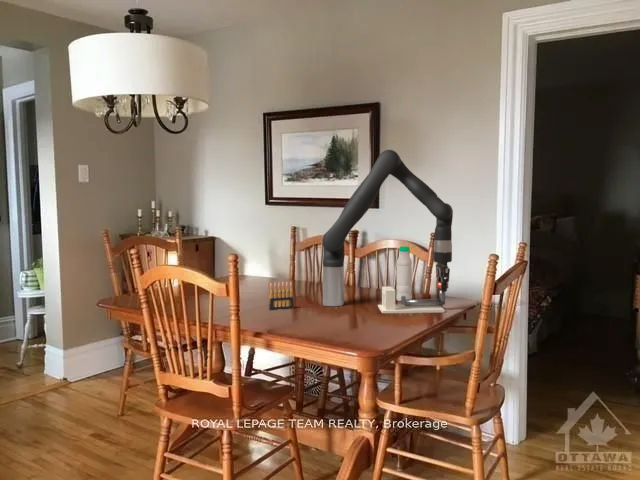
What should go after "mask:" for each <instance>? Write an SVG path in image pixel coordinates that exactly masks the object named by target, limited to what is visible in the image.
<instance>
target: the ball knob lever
mask: <svg viewBox="0 0 640 480" xmlns="http://www.w3.org/2000/svg"><path fill="white" fill-rule="evenodd" d="M441 283H442V282H441V281H438V280H437V281H436V284H435V285H436V287H435V288H436V289H438V288H439V289H438V298H435V299H433V298H431V299H429V298H427V299H412V300H406V296H401V301H400V304H401V305H405V306H440V307H442V306H444V305H446V292H442V291H441ZM447 289H449V282H448V283H447Z"/></svg>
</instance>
